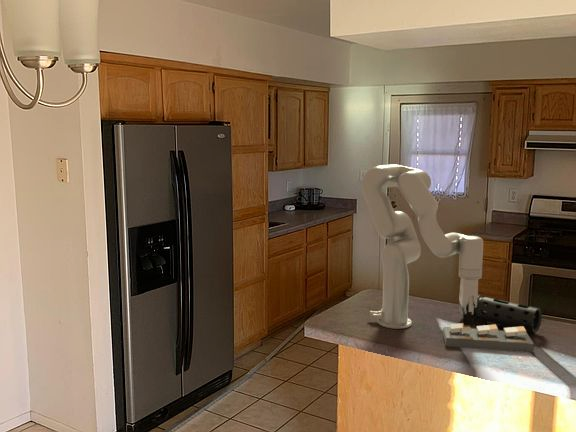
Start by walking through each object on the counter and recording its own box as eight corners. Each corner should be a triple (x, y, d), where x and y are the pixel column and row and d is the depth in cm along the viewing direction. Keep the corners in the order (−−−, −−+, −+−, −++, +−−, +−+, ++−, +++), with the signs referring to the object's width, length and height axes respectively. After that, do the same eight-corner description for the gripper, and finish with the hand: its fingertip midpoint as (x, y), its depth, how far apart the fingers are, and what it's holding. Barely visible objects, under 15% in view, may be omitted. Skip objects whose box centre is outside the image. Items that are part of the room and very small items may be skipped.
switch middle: (478, 334, 194) (478, 330, 194) (476, 329, 199) (476, 325, 199) (498, 332, 193) (498, 328, 193) (496, 328, 198) (495, 323, 198)
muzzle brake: (530, 339, 201) (533, 311, 200) (457, 320, 220) (458, 294, 218) (540, 332, 208) (543, 304, 206) (468, 314, 227) (469, 289, 225)
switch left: (451, 332, 196) (450, 328, 196) (450, 328, 201) (449, 324, 200) (470, 331, 195) (470, 326, 194) (468, 326, 199) (468, 322, 199)
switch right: (506, 336, 193) (506, 332, 193) (504, 331, 197) (503, 327, 197) (526, 334, 192) (526, 330, 191) (523, 329, 196) (523, 325, 196)
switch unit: (445, 346, 194) (446, 335, 193) (442, 334, 205) (443, 324, 204) (533, 352, 189) (534, 341, 188) (525, 340, 200) (526, 330, 199)
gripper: (456, 266, 202) (454, 317, 205) (461, 277, 187) (458, 331, 190) (478, 267, 201) (476, 318, 203) (485, 278, 186) (482, 332, 189)
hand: (467, 324), depth 197 cm, fingers closed
